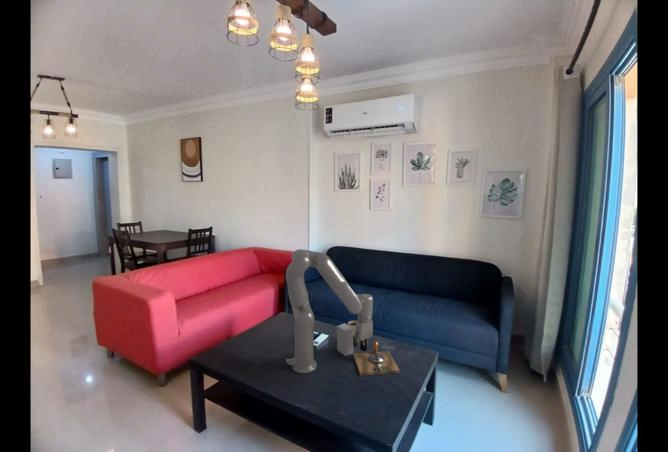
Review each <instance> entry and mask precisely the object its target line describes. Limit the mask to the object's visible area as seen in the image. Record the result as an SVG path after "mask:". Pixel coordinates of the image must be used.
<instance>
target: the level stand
mask: <svg viewBox="0 0 668 452" xmlns="http://www.w3.org/2000/svg"><path fill="white" fill-rule="evenodd" d="M371 354H374V353H373V351H372V352H356V353H355V352H353V354H352V355H353V359H354V362H355V365H356V366H357V367H356V368H357V370H358V373H359V376H360V377H361V376H374V375H375V376H376V375H388V374H390V373H391V374H400V368H399V367H398V365H397V363H396V361H395V359H394V358H393V356H392V354H391V352H390V351H388V350H387V351H378V354H381V355H383V356H384V357H385V361H384V362H383V363H379V364H381V368H377V363H373V362H371V361H370V359H369V356H370V355H371Z"/></svg>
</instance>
